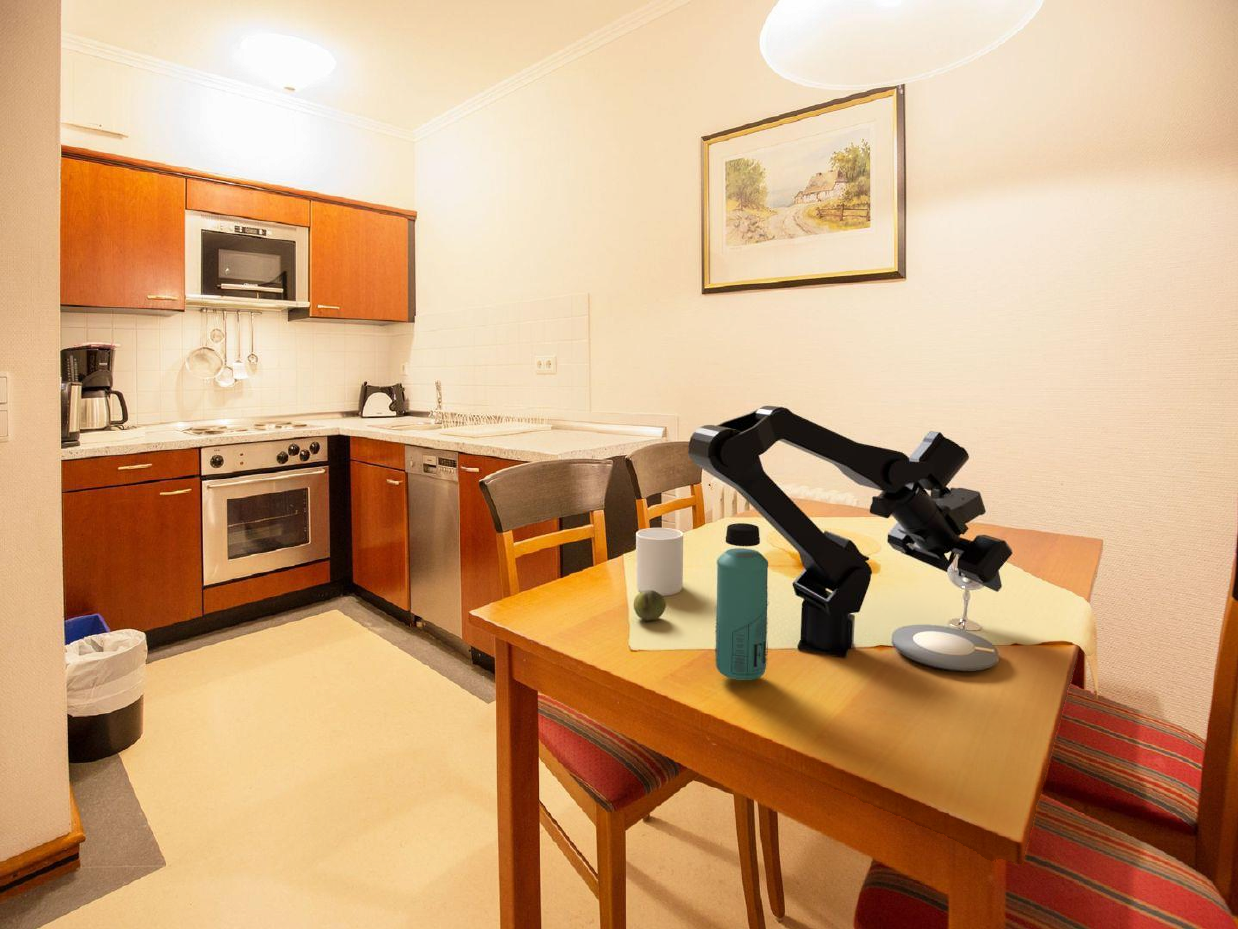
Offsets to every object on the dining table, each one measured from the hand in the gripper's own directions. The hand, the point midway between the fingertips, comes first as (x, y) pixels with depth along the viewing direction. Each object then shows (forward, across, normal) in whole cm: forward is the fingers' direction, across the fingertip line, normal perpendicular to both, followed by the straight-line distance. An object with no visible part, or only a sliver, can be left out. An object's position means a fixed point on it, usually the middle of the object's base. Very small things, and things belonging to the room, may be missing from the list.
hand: (973, 579), depth 98 cm
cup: (-22, +31, +33) cm, 50 cm away
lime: (-28, +16, +38) cm, 49 cm away
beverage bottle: (-25, -6, +35) cm, 43 cm away
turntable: (-4, -8, +14) cm, 16 cm away
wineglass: (+4, 0, +6) cm, 7 cm away
